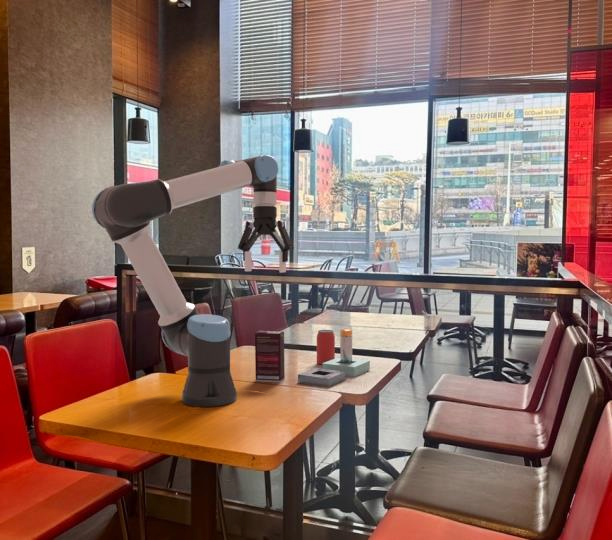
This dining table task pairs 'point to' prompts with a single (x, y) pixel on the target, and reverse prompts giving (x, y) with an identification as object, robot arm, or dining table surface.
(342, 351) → the pin
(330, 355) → the beer can
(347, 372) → the socket block
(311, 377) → the mount
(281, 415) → the dining table surface
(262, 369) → the supplement box
